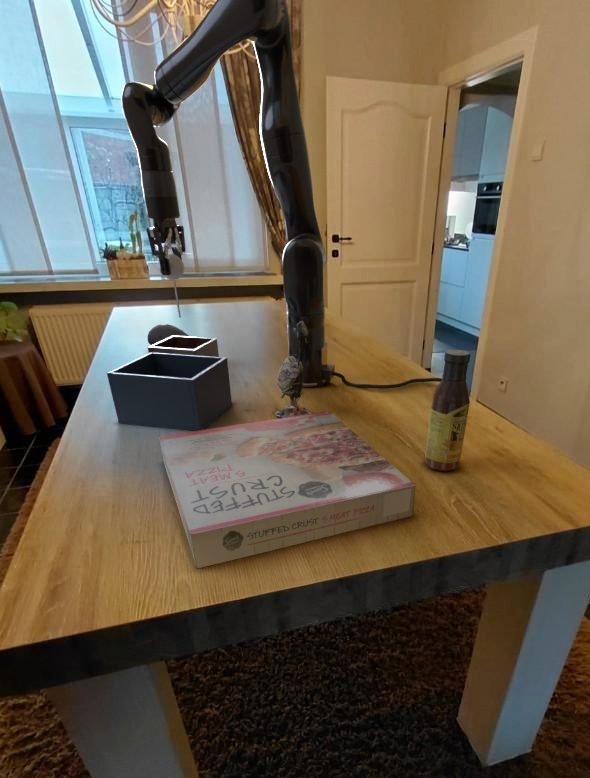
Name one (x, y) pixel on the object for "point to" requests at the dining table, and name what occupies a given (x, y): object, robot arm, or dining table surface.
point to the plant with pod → (293, 379)
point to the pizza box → (279, 485)
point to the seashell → (163, 333)
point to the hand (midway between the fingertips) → (172, 273)
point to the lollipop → (175, 273)
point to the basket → (187, 346)
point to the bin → (171, 390)
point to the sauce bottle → (448, 414)
